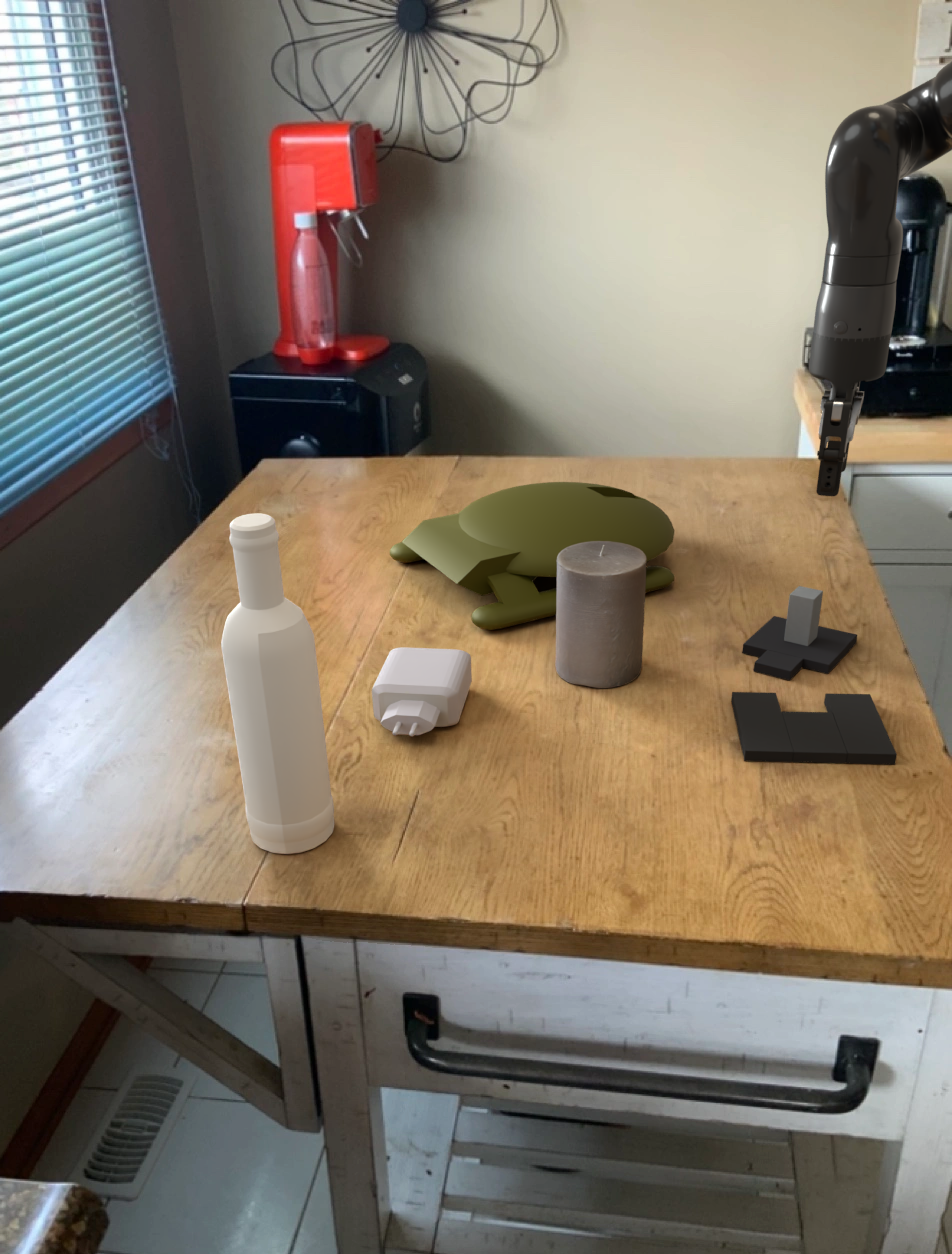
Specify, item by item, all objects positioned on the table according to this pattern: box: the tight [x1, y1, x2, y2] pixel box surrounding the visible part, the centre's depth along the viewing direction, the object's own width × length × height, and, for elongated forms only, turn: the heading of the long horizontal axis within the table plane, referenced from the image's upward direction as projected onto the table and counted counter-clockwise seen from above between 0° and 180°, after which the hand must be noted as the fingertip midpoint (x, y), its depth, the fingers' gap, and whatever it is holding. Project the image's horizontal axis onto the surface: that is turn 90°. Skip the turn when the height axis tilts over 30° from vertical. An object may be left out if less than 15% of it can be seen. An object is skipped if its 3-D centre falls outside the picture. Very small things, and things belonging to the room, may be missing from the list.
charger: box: [371, 646, 473, 737], centre depth 120 cm, size 5×9×15 cm
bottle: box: [220, 512, 335, 855], centre depth 97 cm, size 8×8×30 cm
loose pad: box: [741, 585, 859, 681], centre depth 127 cm, size 10×13×7 cm
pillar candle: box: [554, 541, 648, 689], centre depth 125 cm, size 10×10×15 cm
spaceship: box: [389, 481, 675, 631], centre depth 152 cm, size 35×31×10 cm
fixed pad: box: [730, 691, 898, 766], centre depth 114 cm, size 14×12×1 cm
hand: (831, 482), depth 123 cm, fingers open, 8 cm apart
